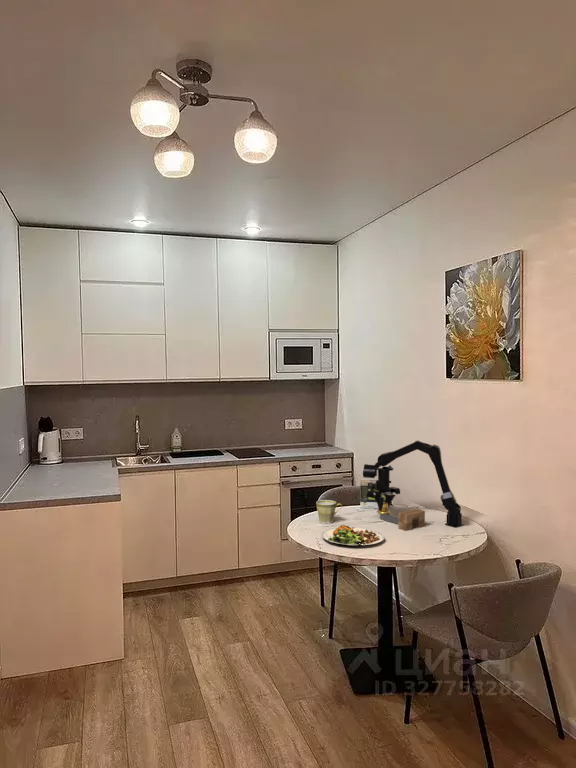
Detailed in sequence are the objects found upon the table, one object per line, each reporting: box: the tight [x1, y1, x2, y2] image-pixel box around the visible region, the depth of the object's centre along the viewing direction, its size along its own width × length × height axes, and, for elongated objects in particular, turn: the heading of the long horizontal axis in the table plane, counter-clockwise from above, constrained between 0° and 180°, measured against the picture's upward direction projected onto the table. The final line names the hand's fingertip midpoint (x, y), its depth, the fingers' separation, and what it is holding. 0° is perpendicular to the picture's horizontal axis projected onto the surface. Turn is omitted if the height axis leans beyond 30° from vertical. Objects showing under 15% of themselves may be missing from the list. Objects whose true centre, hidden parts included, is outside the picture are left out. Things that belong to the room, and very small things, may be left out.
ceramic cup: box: [315, 499, 343, 525], centre depth 283 cm, size 13×10×10 cm
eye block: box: [397, 508, 426, 531], centre depth 273 cm, size 5×13×8 cm, turn 126°
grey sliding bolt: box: [376, 502, 399, 525], centre depth 284 cm, size 18×6×8 cm, turn 36°
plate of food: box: [321, 524, 385, 546], centre depth 254 cm, size 28×28×6 cm
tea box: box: [359, 478, 385, 510], centre depth 315 cm, size 15×10×15 cm
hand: (383, 509), depth 288 cm, fingers closed on grey sliding bolt, 4 cm apart
